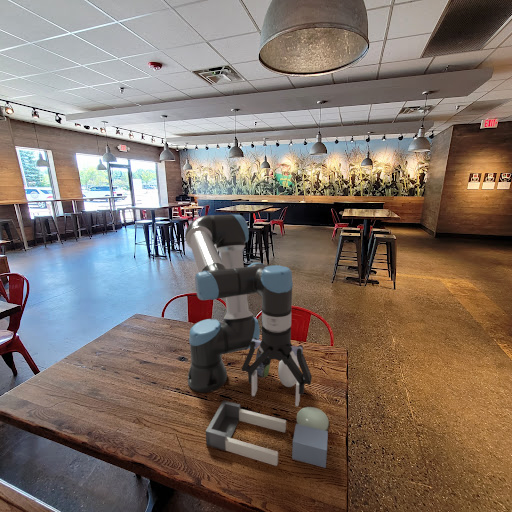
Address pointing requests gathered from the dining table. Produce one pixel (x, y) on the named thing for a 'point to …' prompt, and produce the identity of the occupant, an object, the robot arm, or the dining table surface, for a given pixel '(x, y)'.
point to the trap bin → (222, 425)
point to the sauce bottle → (287, 372)
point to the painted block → (310, 445)
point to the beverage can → (262, 365)
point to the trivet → (312, 418)
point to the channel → (255, 450)
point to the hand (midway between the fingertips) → (275, 397)
